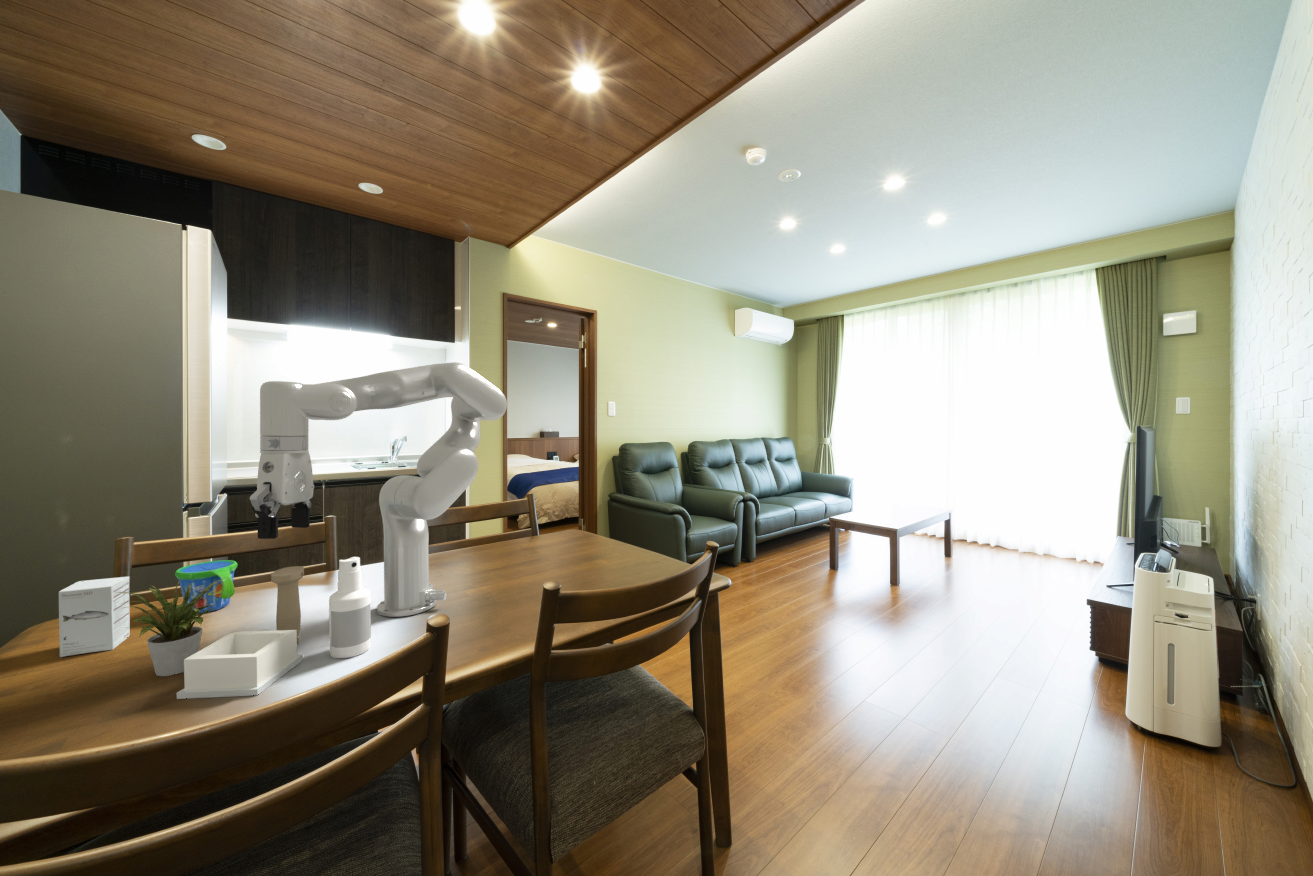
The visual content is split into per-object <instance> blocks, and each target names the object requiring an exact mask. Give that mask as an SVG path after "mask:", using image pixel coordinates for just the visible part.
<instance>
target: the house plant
mask: <svg viewBox="0 0 1313 876" xmlns="http://www.w3.org/2000/svg"><path fill="white" fill-rule="evenodd" d="M183 577H184V576H183ZM183 577H182V578H183ZM182 578H181V579H182ZM181 579H180V580H181ZM219 581H220V580H219ZM219 581H216V582H214V583H212V584H211V585H209V586H208V587H206V588H205V589H204V590H203V591H202V592H201V593H200V594H199V595H198V596H196V597H195V598H194V599H192V600H191V601H190V602H189V603H188V605H187V601H188V599H189V597H190V593H191V583H190V584H189V586H188V589H187V591H186V593H185V596H184V600H183V601H182V603H180V604H178V600H179V597H180V595H181V593H182V590H183V589H182V590H181V589H180V591H179V592H178V593H177V590H178V586H179V585H180V581H179V580H178V582H177V584H176V587H175V590H174V594H173V601H168V600H167V598H166V596H164V595H163V593H162V591H161V590H160V589H159V588H158V587H156V586H154V585H150V586H151V587H153V588H154V589H153V588H151V587H148V589H149V590H150V591H151V594H153V595H154V596H155V599H156V600H157V601H158V602H159V604H160V605H161V607H162V609H163V612H164V613H162V612H161V610H159V609H158V607H156V606H155V605H153V603H150V602H149V601H148V600H147V599H146V598H144V597H143V596H141V595H139V594H138V593H134V592H129V595H133V596H135V597H137V598H140V600H132V601H130V603H134V602H135V603H140V604H143V605H145V606H146V607H148V608H150V609H152V611H154V612H155V614H157V616H158V617H160V618H161V620H162V621H163V622H162V621H158V620H157V618H155V616H153V615H152V614H151V613H149V612H148V611H147V610H146V609H144V608H142V607H139V606H131V605H130V608H135V609H138V610H140V611H142V612H143V613H144V614H146V615H143V616H140V617H137V618H136V619H134V620H133V621H132V622H133V623H136V622H142V623H140V625H138V628H139V627H140V628H141V629H140V633H139V638H140V637H141V636H142V635H143V634H145V633H147V632H148V631H150V632H152V633H154V635H152V636H151V637H149V638H148V639H147V640H146V643H147V646H148V650H149V654H150V657H151V662H152V665H153V669H154V672H155V675H156V676H157V677H169V676H174V674H175V675H178V673H179V674H181V673H182V674H183V673H184V659H186V658H188V657H189V656H191V655H193V654H195V653H196V652H198V651H200V645H201V640H202V639H201V638H202V634H203V628H202V627H201V626H202V624H203V623H204V618H203V617H202V616H203V615H205V613H208V612H207V611H209V610H212V609H208V610H206V611H204V612H202V613H199V612H200V610H202V609H204V608H207V607H209V606H213V605H208V606H203V607H200V608H197V609H196V608H194V609H193V607H194V606H195V605H196V603H197V602H198V601H199V600H200V598H201V597H202V596H203V595H204V594H205V593H207V591H208V590H209V589H210V588H211V587H212V586H213V585H214V584H216V583H217V582H219ZM186 587H187V586H186ZM117 593H128V592H117ZM125 603H127V602H125ZM121 604H122V603H121ZM186 605H187V606H186ZM215 605H217V604H215ZM124 608H126V607H124ZM120 609H121V608H120ZM192 609H193V610H192ZM191 610H192V611H191ZM198 613H199V615H198ZM195 623H198V624H199V625H200V626H194V625H195ZM142 624H149V625H145V626H142ZM133 627H134V625H132V626H131V625H130V628H133ZM127 628H128V627H127ZM153 628H155V629H157V630H158V631H159V632H158V631H156V630H154V629H153Z"/></svg>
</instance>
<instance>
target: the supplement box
mask: <svg viewBox="0 0 1313 876" xmlns="http://www.w3.org/2000/svg"><path fill="white" fill-rule="evenodd" d="M130 577H131V576H120V577H109V578H108V577H107V578H99V579H98V578H97V579H89V580H87V579H86V580H79V581H76V582H74V583H73V584H70V585H69V586H67V587H64V588H63V589H61V590H60V591H58V626H59V627H58V630H59V633H58V634H59V639H58V641H59V657H60V658H63V657H68V656H75V655H81V654H87V653H88V654H89V653H96V652H103V651H104V652H105V651H112V650H114V649H115V648H117V647H118V646H119V645H121V644H122V643H123V642H124V641H126V640H127V639H128V638H129V637H130V635H131V634H130V633H131V632H130V628H131V627H130V626H131V625H130V624H131V623H130V620H131V616H130V608H131V607H130V606H131V605H130V594H129V593H130V579H131V578H130ZM117 592H128V593H117ZM125 602H127V603H125ZM121 603H122V604H121ZM124 607H126V608H124ZM120 608H121V609H120ZM127 627H128V628H127ZM127 637H128V638H127Z"/></svg>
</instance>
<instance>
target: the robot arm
mask: <svg viewBox="0 0 1313 876" xmlns="http://www.w3.org/2000/svg"><path fill="white" fill-rule="evenodd" d="M444 398H452V399H451V403H450V410H451V424H450V426H449V428H448V429H447V430H446V432H445V433H444V434H443V435H442V436H440V437H439V438H438V440H436V441H435V442H433V444H432V445H431V446H430V447H428V449H427V450H425V451H424V452H423V453H422V454H421V455H420V457H419V458H418V461H417V463H416V471H417V474H418V475H419V476H415V475H407V474H406V475H403V474H402V475H397V476H394V477H391V478H389V479H388V480H387V481H386V482H385V483H384V484H383V485H382V487H381V488H380V490H379V496H378V497H379V498H378V503H379V508H380V509H379V510H380V514H381V518H382V519H381V520H382V526H383V527H382V528H383V580H384V581H383V583H384V585H383V586H384V587H383V589H384V591H383V593H384V594H383V595H384V596H383V597H384V598H383V601H381V602H379V604H377V606H376V613H377V614H379V615H380V616H382V617H388V618H389V617H390V618H396V617H397V618H398V617H408V616H412V615H418V614H421V613H425V612H426V611H429V610H430V609H432V608H434V606H435V605H436V603H437V601H438V602H439V601H446V600H447V596H448V595H447V591H445V589H437V590H436V589H434V584H433V583H430V580H429V579H430V578H429V574H430V573H429V567H430V566H429V565H430V564H429V562H430V561H429V541H430V540H429V538H430V537H429V535H430V533H429V526H428V521H429V520H434V519H436V518H438V517H440V516H441V515H443V514H444V513H445V512H446V511H447V510H448V509H449V508H450V507H451V506H452V505H453V504H454V503H455V502H456V501H457V500H458V498H459V497H460V496H461V495H462V494H463V493H464V492H465V491H466V490H467V489H468V488H469V486H471V484H472V483H473V482H474V480H475V478H476V476H477V473H478V471H479V460H478V457H477V456H476V453H474V451H476V449H477V448H478V446H479V445H480V443H481V423H480V422H481V421H495V420H499V419H500V418H502V417H503V416H504V415H505V413H506V411H507V408H508V402H507V397H506V396H505V394H504V393H503V391H502V390H501V389H500V388H499V387H497V386H496V385H495V384H493V383H492V382H490V381H489V380H488V379H486V378H485V377H484V376H482V375H481V374H480V373H478V372H477V371H475V370H474V369H472V368H471V367H469V366H467V365H465V364H463V363H461V362H457V361H454V362H447V363H446V362H445V363H443V362H442V363H432V364H426V365H421V366H420V365H419V366H414V367H409V368H408V367H407V368H402V369H395V370H393V369H392V370H387V371H383V372H377V373H373V374H367V375H364V376H358V377H352V378H347V379H340V380H333V381H328V382H327V381H326V382H321V383H315V384H307V383H306V384H304V383H301V382H296V381H281V380H279V381H278V380H276V381H275V380H272V381H270V380H269V381H265V382H263V383H262V384H261V385H260V389H259V415H260V416H259V453H260V456H259V461H258V462H259V463H258V468H257V469H258V470H257V479H256V480H257V481H256V488H257V489H256V490H255V491H254V492H253V493H252V494H251V495H250V496H249V500H250V503H251V505H252V511H253V512H254V513H255V518H257V538H258V539H260V540H271V539H272V540H273V539H274V540H275V539H277V538H278V537H279V516H276V515H277V513H278V510H279V509H280V507H281V505H282V506H289V505H292V508H290V509H291V511H290V512H291V515H290V516H291V528H293V529H296V528H297V529H298V528H299V529H301V528H303V529H306V528H309V527H310V525H311V524H310V523H311V522H310V516H311V515H310V513H311V512H310V511H311V507H312V502H311V501H312V499H313V498H314V489H315V484H314V477H313V466H312V465H313V464H312V460H311V455H310V451H309V420H314V421H319V420H320V421H339V420H344V419H346V418H348V417H350V416H351V415H352V414H353V413H354V412H358V411H359V412H360V411H361V412H362V411H368V410H389V409H395V408H396V409H397V408H403V407H407V406H411V405H414V404H420V403H423V402H428V401H429V402H430V401H433V400H438V399H444ZM269 507H270V508H269Z"/></svg>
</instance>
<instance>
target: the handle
mask: <svg viewBox="0 0 1313 876" xmlns="http://www.w3.org/2000/svg"><path fill="white" fill-rule="evenodd" d="M304 575H305V568H304V566H301V565H300V566H299V565H298V566H297V565H296V566H287V567H282V568H279V569H276V570H275V571H273V572H271V573H270V579H271V580H270V581H271V582H272V583H274V584H275V585H277V597H276V599H277V600H276V602H277V603H276V616H275V617H276V619H275V623H276V626H275V628H276V631H277V630H297V646H298V645H299V643H300V635H301V634H300V633H301V624H302V619H301V618H302V613H301V602H300V591H299V581H300V580H301V579H303V578H304Z"/></svg>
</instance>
